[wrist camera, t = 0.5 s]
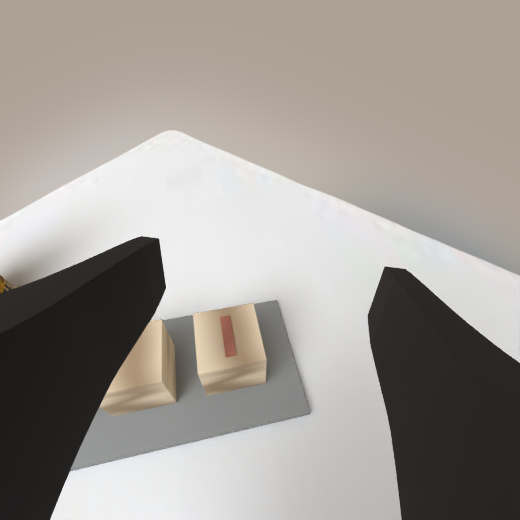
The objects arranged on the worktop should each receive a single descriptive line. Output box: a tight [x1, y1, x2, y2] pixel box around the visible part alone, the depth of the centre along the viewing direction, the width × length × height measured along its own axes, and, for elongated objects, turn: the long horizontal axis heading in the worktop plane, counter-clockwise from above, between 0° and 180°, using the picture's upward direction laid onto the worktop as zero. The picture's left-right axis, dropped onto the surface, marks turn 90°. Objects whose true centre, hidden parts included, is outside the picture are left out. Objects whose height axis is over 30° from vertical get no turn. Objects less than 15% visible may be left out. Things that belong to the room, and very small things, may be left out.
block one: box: [193, 303, 267, 396], centre depth 25 cm, size 5×5×5 cm
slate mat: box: [70, 300, 310, 471], centre depth 26 cm, size 26×11×1 cm, turn 102°
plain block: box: [100, 319, 177, 417], centre depth 24 cm, size 5×5×5 cm
